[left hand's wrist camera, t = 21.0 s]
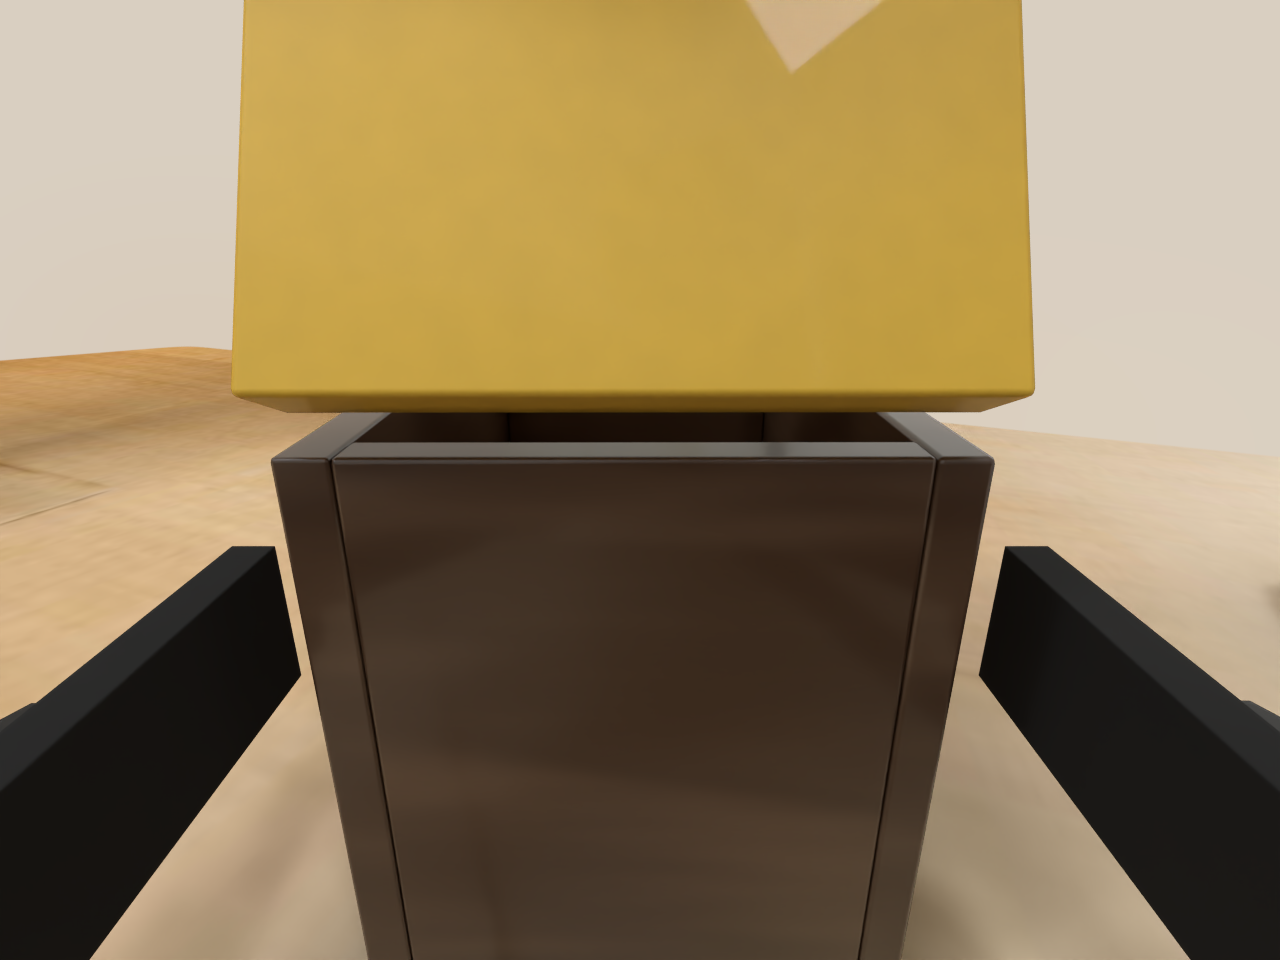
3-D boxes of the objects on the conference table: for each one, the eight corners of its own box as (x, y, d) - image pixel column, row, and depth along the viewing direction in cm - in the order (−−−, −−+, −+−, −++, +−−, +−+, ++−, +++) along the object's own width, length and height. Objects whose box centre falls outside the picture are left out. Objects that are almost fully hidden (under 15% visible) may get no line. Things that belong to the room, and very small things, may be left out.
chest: (504, 636, 25) (479, 322, 21) (767, 636, 25) (791, 322, 21) (380, 1028, 13) (266, 458, 9) (891, 1027, 13) (1000, 458, 9)
